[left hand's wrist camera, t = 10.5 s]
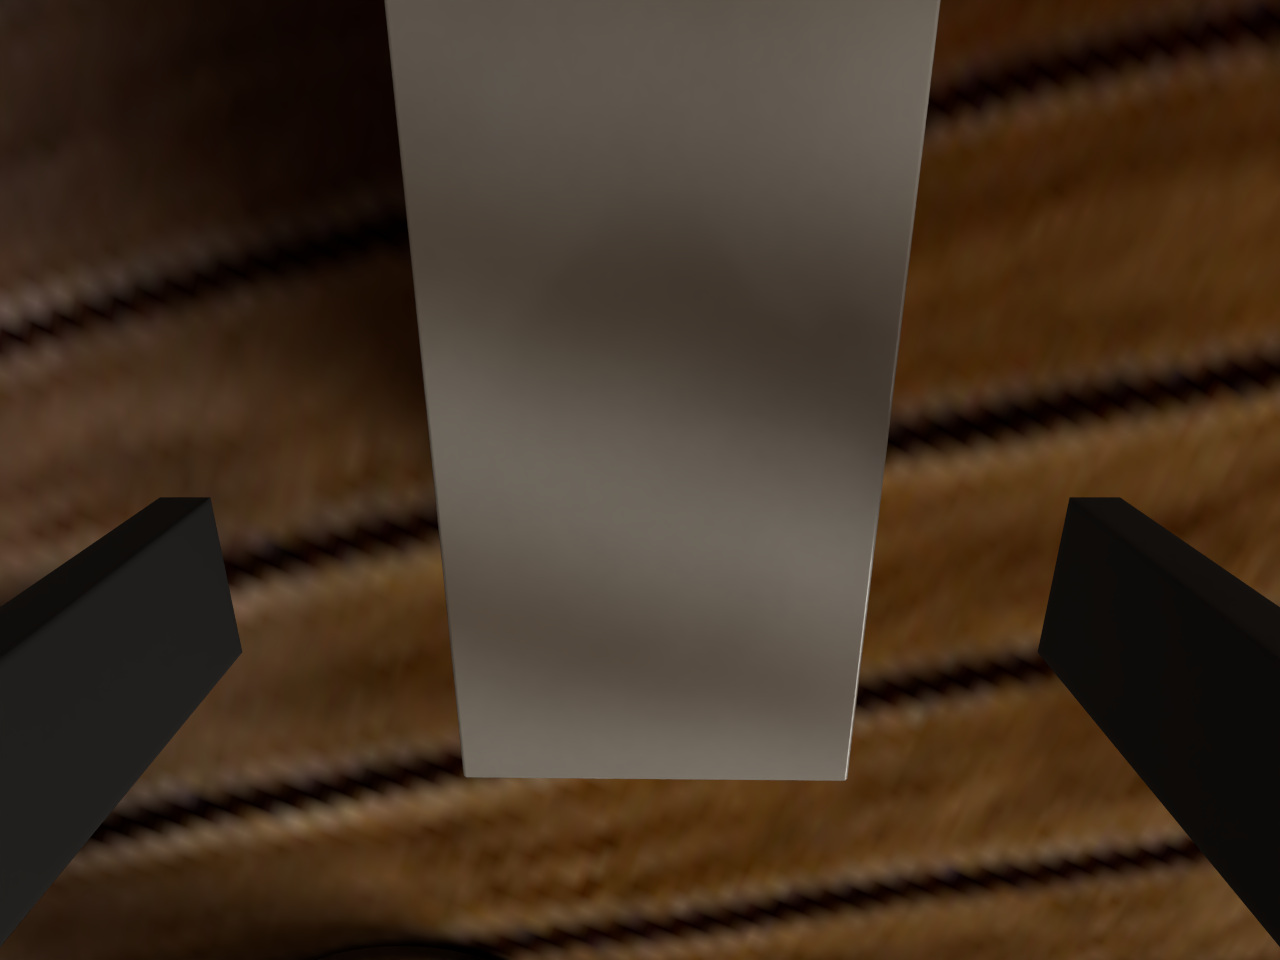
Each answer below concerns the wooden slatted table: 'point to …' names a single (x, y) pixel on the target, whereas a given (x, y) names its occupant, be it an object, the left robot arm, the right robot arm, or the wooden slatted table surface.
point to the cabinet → (659, 365)
